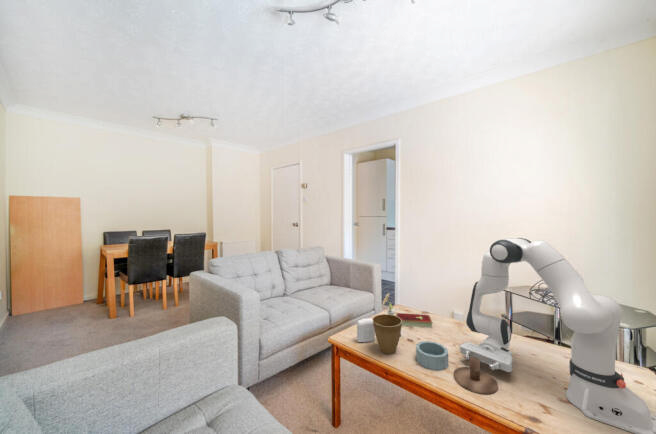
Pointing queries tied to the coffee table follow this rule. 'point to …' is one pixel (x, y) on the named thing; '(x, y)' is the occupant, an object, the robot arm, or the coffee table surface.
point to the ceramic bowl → (432, 355)
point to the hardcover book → (415, 320)
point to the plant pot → (387, 332)
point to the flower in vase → (390, 311)
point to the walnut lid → (475, 378)
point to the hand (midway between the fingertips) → (478, 362)
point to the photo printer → (365, 330)
